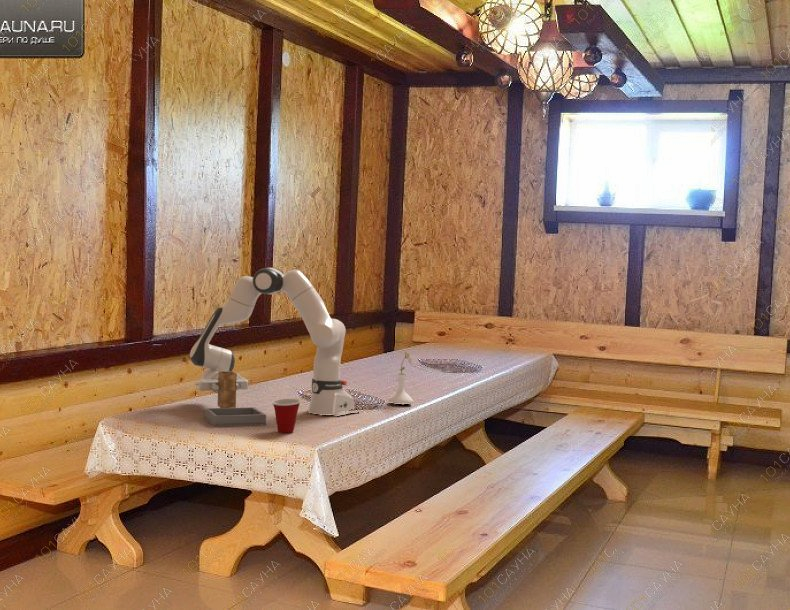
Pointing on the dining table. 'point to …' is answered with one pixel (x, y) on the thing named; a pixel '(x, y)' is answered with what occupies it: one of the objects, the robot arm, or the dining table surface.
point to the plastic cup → (286, 414)
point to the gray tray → (235, 416)
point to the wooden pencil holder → (227, 389)
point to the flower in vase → (401, 386)
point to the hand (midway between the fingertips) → (227, 387)
